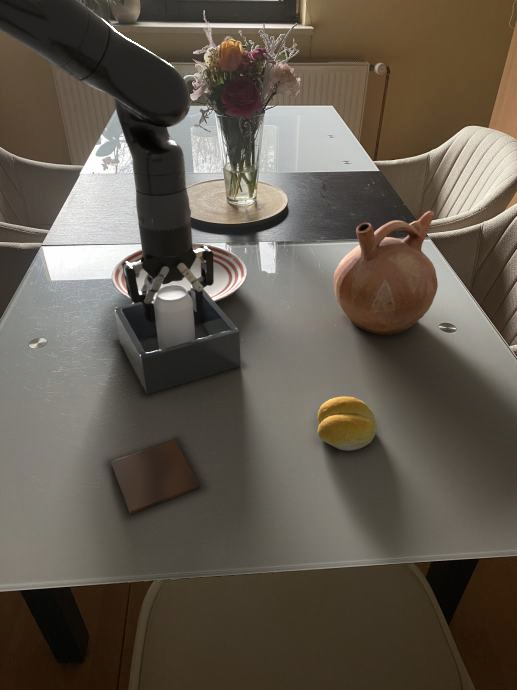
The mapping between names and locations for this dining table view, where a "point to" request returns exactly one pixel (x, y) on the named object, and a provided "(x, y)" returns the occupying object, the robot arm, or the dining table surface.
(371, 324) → the jug
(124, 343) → the grey open box
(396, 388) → the dining table surface
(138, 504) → the coaster
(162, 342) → the beverage can
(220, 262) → the dinner plate
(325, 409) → the bread roll
